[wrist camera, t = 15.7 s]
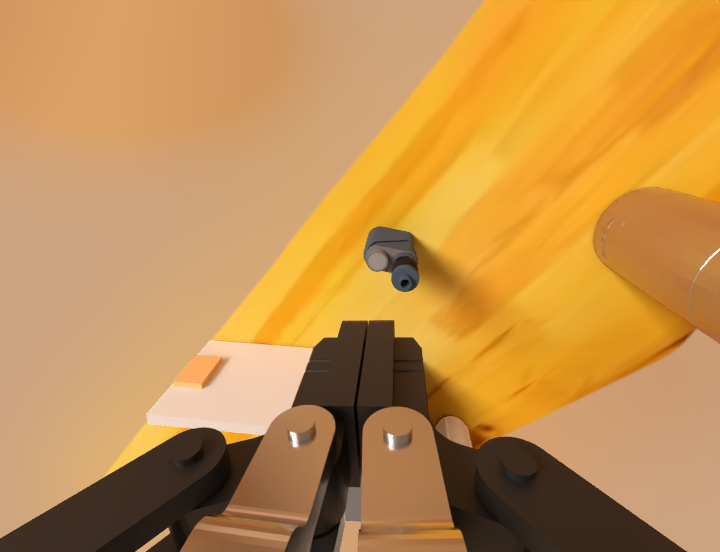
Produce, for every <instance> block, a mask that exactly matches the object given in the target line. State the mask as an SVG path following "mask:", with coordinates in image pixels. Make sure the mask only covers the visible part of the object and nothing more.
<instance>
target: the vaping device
mask: <svg viewBox="0 0 720 552" xmlns="http://www.w3.org/2000/svg"><path fill="white" fill-rule="evenodd" d="M364 259H365V262H366V264H367V265H368V267H369V268H370V269H371V270H373V271H376V272H379V271H385V272H390V273H392V277H391V280H392V284H393V286H394V287H395V288H396V289H397V290H399V291H402V292H408V291H411V290H413V289H414V288H416V286H417V285H418V282H419V275H418V267H417V264H418V261H417V259H418V258H417V256H416V252H415V249H414V245H413V238H412V234H411V233H409V232H406V231H401V230H396V229H391V228H386V227H380V226H379V227H376V228H373V229H372V230H371V231H370V232H369V235H368V238H367V242H366V246H365V250H364Z"/></svg>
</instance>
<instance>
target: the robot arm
mask: <svg viewBox="0 0 720 552" xmlns="http://www.w3.org/2000/svg"><path fill="white" fill-rule="evenodd" d="M593 243H594V248H595V252H596V254H597V256H598V258H599V259H600V260H601V261H602V262H603V263H604V264H605V265H606V266H608V267H609V268H611V269H612V270H614V271H615V272H616V273H618V274H619V275H621V276H622V277H624V278H625V279H626V280H627V281H629V282H630V283H632V284H633V285H635V286H636V287H638V288H639V289H641V290H642V291H643V292H645V293H646V294H648V295H649V296H651V297H652V298H654V299H655V300H657V301H658V302H659V303H661V304H662V305H664V306H665V307H667V308H668V309H670V310H671V311H673V312H674V313H675V314H677V315H678V316H680V317H681V318H683V319H684V320H686V321H687V322H689V323H690V324H691V325H693V326H694V327H696V328H697V329H699V330H700V331H702V332H703V333H705V334H706V335H708V336H709V337H711V338H712V339H714V340H715V341H717V342H718V343H720V202H716V201H712V200H708V199H704V198H700V197H696V196H693V195H689V194H685V193H680V192H676V191H672V190H668V189H663V188H658V187H652V188H643V189H638V190H635V191H632V192H630V193H628V194H625V195H624V196H622V197H620V198H619V199H617V200H616V201H615V202H614V203H612V204H611V205H610V206H609V207H608V208H607V209H606V211H605V212H604V213H603V214H602V215H601V217H600V219H599V221H598V223H597V225H596V228H595V232H594V240H593ZM361 475H362V500H361V529H360V530H359V535H358V552H686V551H685V550H684V549H682V548H681V547H679V546H678V545H677V544H675V543H674V542H672V541H671V540H670V539H668V538H667V537H665V536H664V535H662V534H661V533H660V532H658V531H657V530H655V529H654V528H653V527H651V526H650V525H648V524H647V523H646V522H644V521H643V520H641V519H640V518H638V517H637V516H636V515H634V514H633V513H632V512H630V511H629V510H627V509H626V508H624V507H623V506H622V505H620V504H619V503H617V502H616V501H615V500H613V499H612V498H610V497H609V496H608V495H606V494H605V493H603V492H602V491H601V490H599V489H598V488H596V487H595V486H594V485H592V484H591V483H589V482H588V481H586V480H585V479H583V478H582V477H581V476H579V475H578V474H576V473H575V472H574V471H572V470H571V469H570V468H568V467H567V466H565V465H564V464H563V463H561V462H559V461H558V460H557V459H556V458H554V457H553V456H551V455H550V454H548V453H547V452H545V451H544V450H543V449H541V448H540V447H538V446H537V445H535V444H533V443H531V442H528V441H525V440H523V439H519V438H513V437H498V438H494V439H491V440H489V441H487V442H485V443H484V444H483V445H482V446H481V447H480V449H479V450H478V449H474V448H471V447H468V446H464V445H461V444H458V443H456V442H453V441H451V440H449V439H448V438H446V437H444V436H443V435H442V434H441V433H439V432H438V431H437V430H436V428H435V427H434V426H433V424H432V423H431V421H430V418H429V414H428V404H427V395H426V386H425V376H424V367H423V357H422V348H421V347H420V346H419V344H418V343H417V342H416V341H415V339H414V338H395V329H394V320H375V321H369V325H368V321H342V324H341V327H340V331H339V334H338V338H324V339H322V340H321V341H320V342H319V343H318V344H317V345H316V346H315V347H314V348H313V351H312V353H311V356H310V359H309V362H308V364H307V367H306V369H305V372H304V375H303V377H302V380H301V383H300V385H299V388H298V391H297V394H296V396H295V399H294V402H293V404H292V407H291V408H290V409H288V410H286V411H284V412H282V413H281V414H279V415H278V416H277V417H276V418H275V419H274V420H273V421H272V423H271V424H270V426H269V428H268V430H267V432H266V433H265V434H264V435H262V436H259V437H256V438H253V439H249V440H244V441H240V442H236V443H232V444H226V440H225V438H224V436H223V434H222V433H221V432H219V431H218V430H216V429H213V428H207V427H202V428H194V429H190V430H187V431H184V432H182V433H179V434H178V435H176V436H174V437H172V438H170V439H169V440H167V441H165V442H164V443H162V444H160V445H158V446H157V447H155V448H153V449H152V450H150V451H148V452H147V453H145V454H143V455H141V456H140V457H138V458H136V459H135V460H133V461H131V462H130V463H128V464H126V465H124V466H123V467H121V468H119V469H118V470H116V471H114V472H113V473H111V474H109V475H107V476H106V477H104V478H102V479H101V480H99V481H97V482H96V483H94V484H92V485H90V486H89V487H87V488H85V489H84V490H82V491H80V492H79V493H77V494H75V495H73V496H72V497H70V498H68V499H67V500H65V501H63V502H62V503H60V504H58V505H57V506H55V507H53V508H52V509H50V510H48V511H46V512H45V513H43V514H41V515H40V516H38V517H36V518H34V519H33V520H31V521H29V522H28V523H26V524H24V525H22V526H21V527H19V528H17V529H16V530H14V531H12V532H10V533H9V534H7V535H5V536H4V537H2V538H0V552H135V551H137V550H138V549H139V548H141V547H142V546H143V545H145V544H146V543H147V542H149V541H150V540H151V539H153V538H154V537H156V536H157V535H158V534H159V533H161V532H162V531H164V530H165V529H166V528H169V531H170V534H169V535H167V536H166V537H165V538H163V539H162V540H161V541H159V542H158V543H157V544H155V545H154V546H153V547H151V548H150V549H149V550H147V551H146V552H339V551H340V546H341V541H342V536H343V531H344V527H345V520H346V519H345V509H346V505H347V497H348V490H349V487H360V485H361Z"/></svg>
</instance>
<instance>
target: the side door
mask: <svg viewBox="0 0 720 552" xmlns="http://www.w3.org/2000/svg"><path fill="white" fill-rule="evenodd" d="M312 351H313V348H304V347H291V346H279V345H266V344H253V343H240V342H227V341H214V340H210V341H209V342H208V343H207V344H206V345H205V347H204V348H203V349H202V350H201V351H200V352H199V354H198V355H195V356H194V358H193V359H192V360H191V361H190V362H189V363H188V365H187V366H186V367H185V368H184V369H183V370H182V371H181V373H180V374H179V375H178V376H177V377H176V378H175V379H174V381H173V384H172V385H171V386H170V387H169V388H168V390H167V391H166V392H165V393H164V394H163V395H162V397H161V398H160V399H159V400H158V401H157V403H156V404H155V405H154V406H153V407H152V408H151V409H150V411H149V412H148V413H147V414H146V417H147V421H148V424H154V425H164V426H175V427H185V428H202V427H207V428H213V429H216V430H218V431H226V432H237V433H247V434H257V435H264V434H265V433H266V432H267V430H268V428H269V426H270V424H271V423H272V421H273V420H274V419H275V418H276V417H277V416H278V415H279V414H281V413H282V412H284V411H286V410H288V409H290V408H291V407H292V404H293V402H294V399H295V396H296V394H297V391H298V388H299V385H300V383H301V380H302V377H303V375H304V372H305V369H306V367H307V364H308V362H309V359H310V356H311V353H312Z"/></svg>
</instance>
